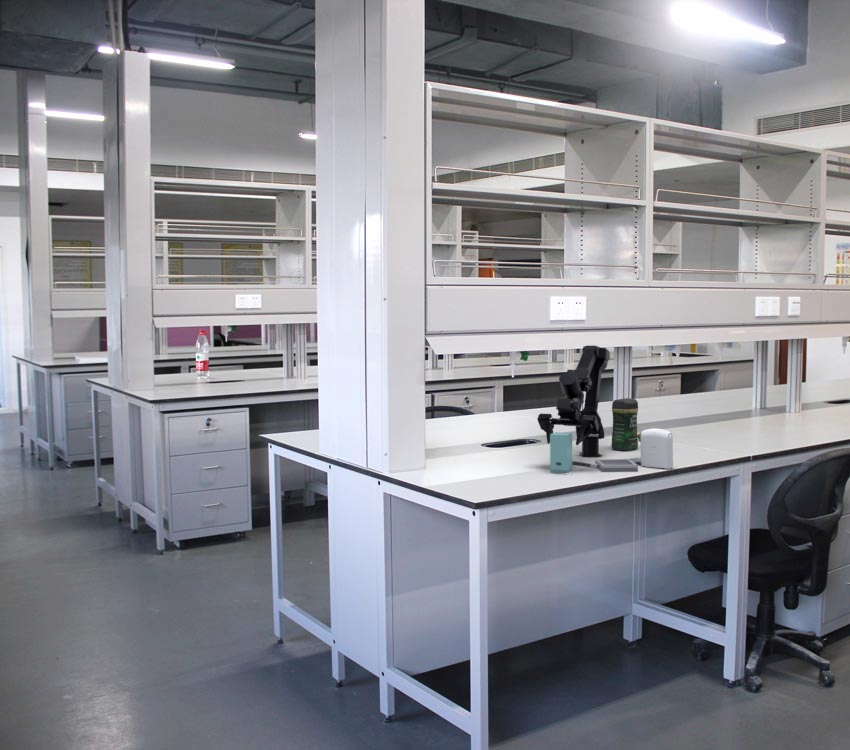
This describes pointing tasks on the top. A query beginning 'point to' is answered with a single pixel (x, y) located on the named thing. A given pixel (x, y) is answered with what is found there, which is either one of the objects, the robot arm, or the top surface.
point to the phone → (636, 461)
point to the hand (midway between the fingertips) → (562, 443)
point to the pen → (585, 464)
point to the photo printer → (657, 448)
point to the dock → (616, 465)
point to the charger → (561, 452)
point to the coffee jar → (624, 424)
